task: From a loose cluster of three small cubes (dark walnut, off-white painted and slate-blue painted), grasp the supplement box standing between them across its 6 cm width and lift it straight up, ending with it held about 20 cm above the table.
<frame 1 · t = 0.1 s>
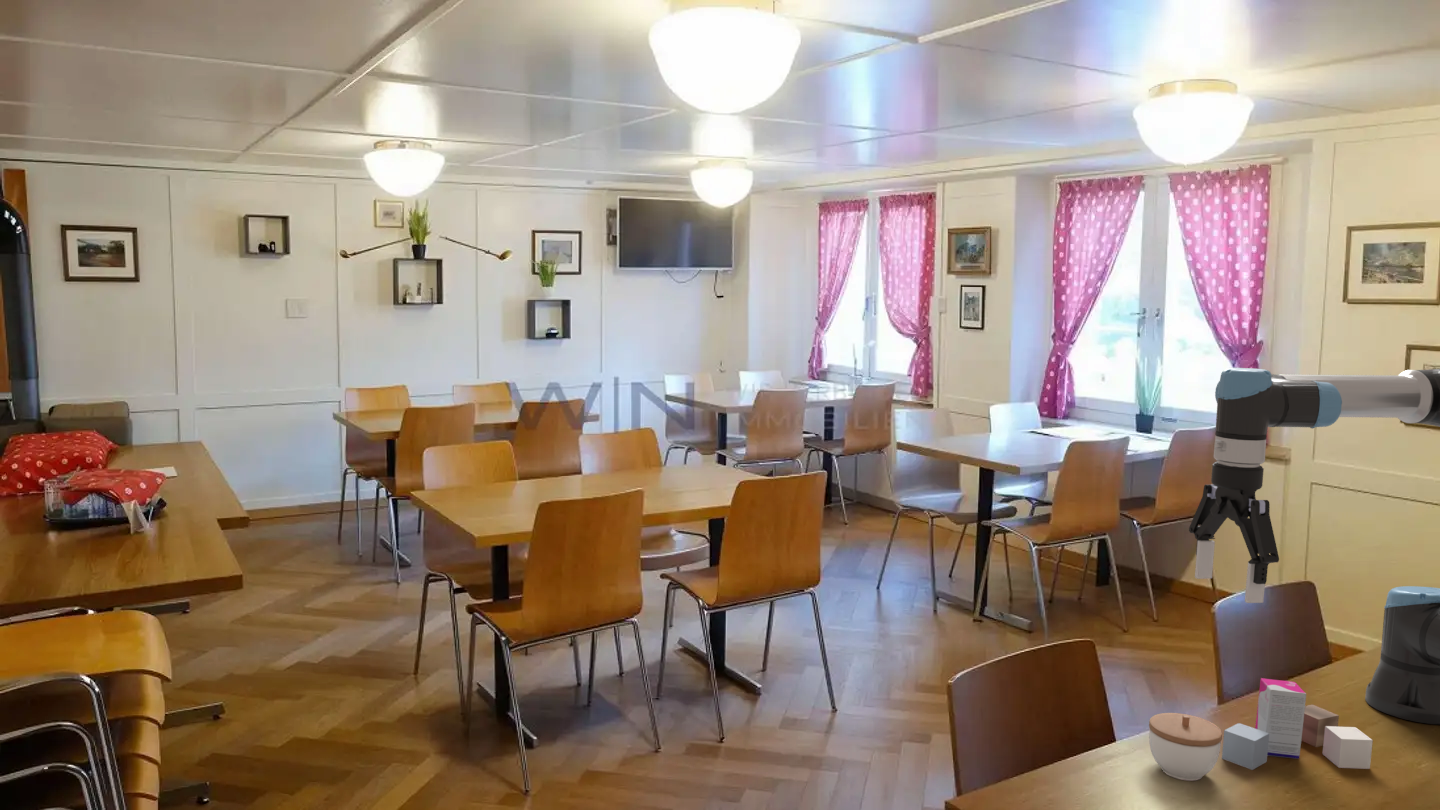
hand: (1227, 589, 175), 28 cm above the table, fingers open, 13 cm apart
supplement box: (1276, 751, 179), on the table
walnut cube: (1312, 739, 184), on the table
lidded jar: (1181, 773, 170), on the table
slate-blue cube: (1244, 760, 175), on the table
off-white cube: (1345, 761, 175), on the table
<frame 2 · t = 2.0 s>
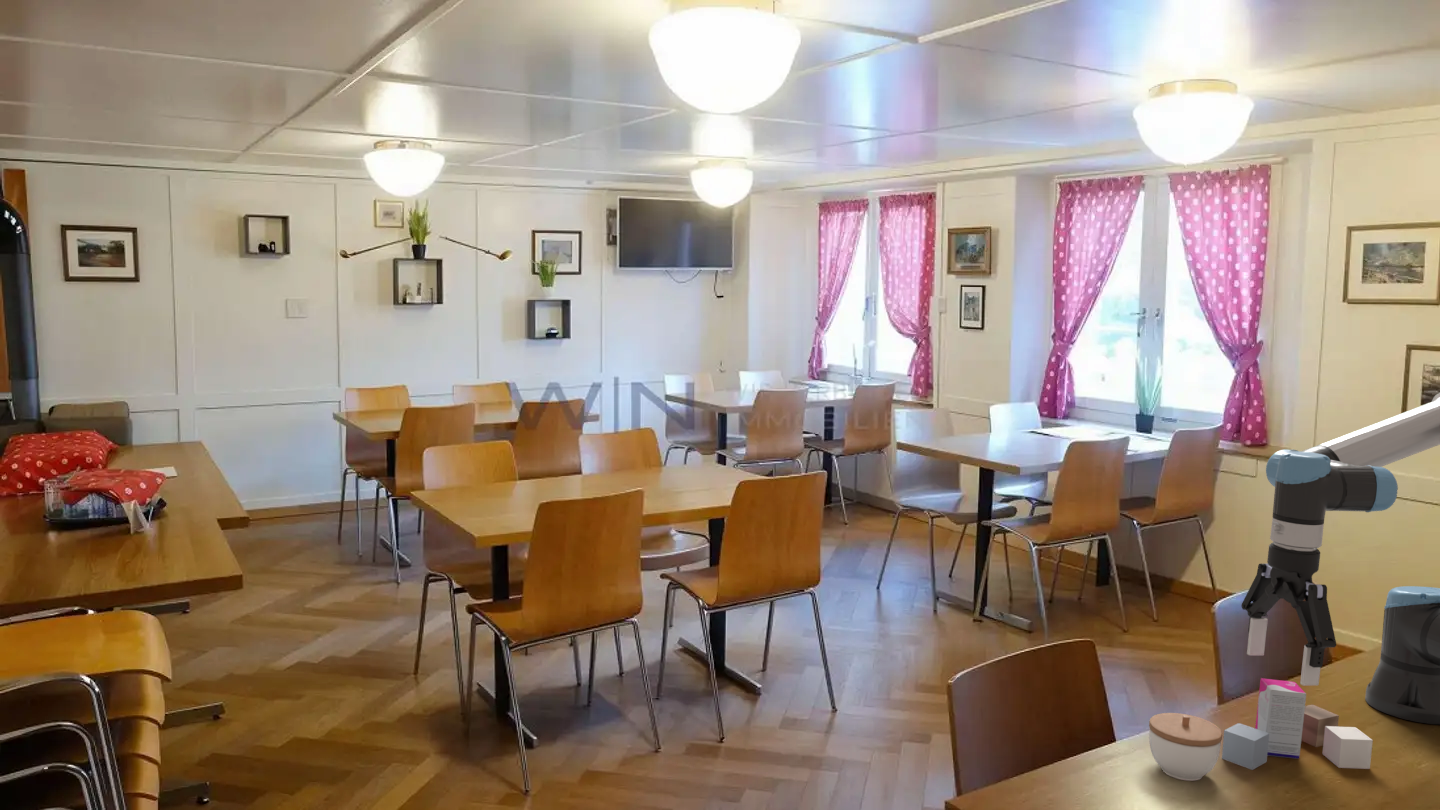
hand: (1281, 669, 177), 14 cm above the table, fingers open, 13 cm apart
nothing on the table moved.
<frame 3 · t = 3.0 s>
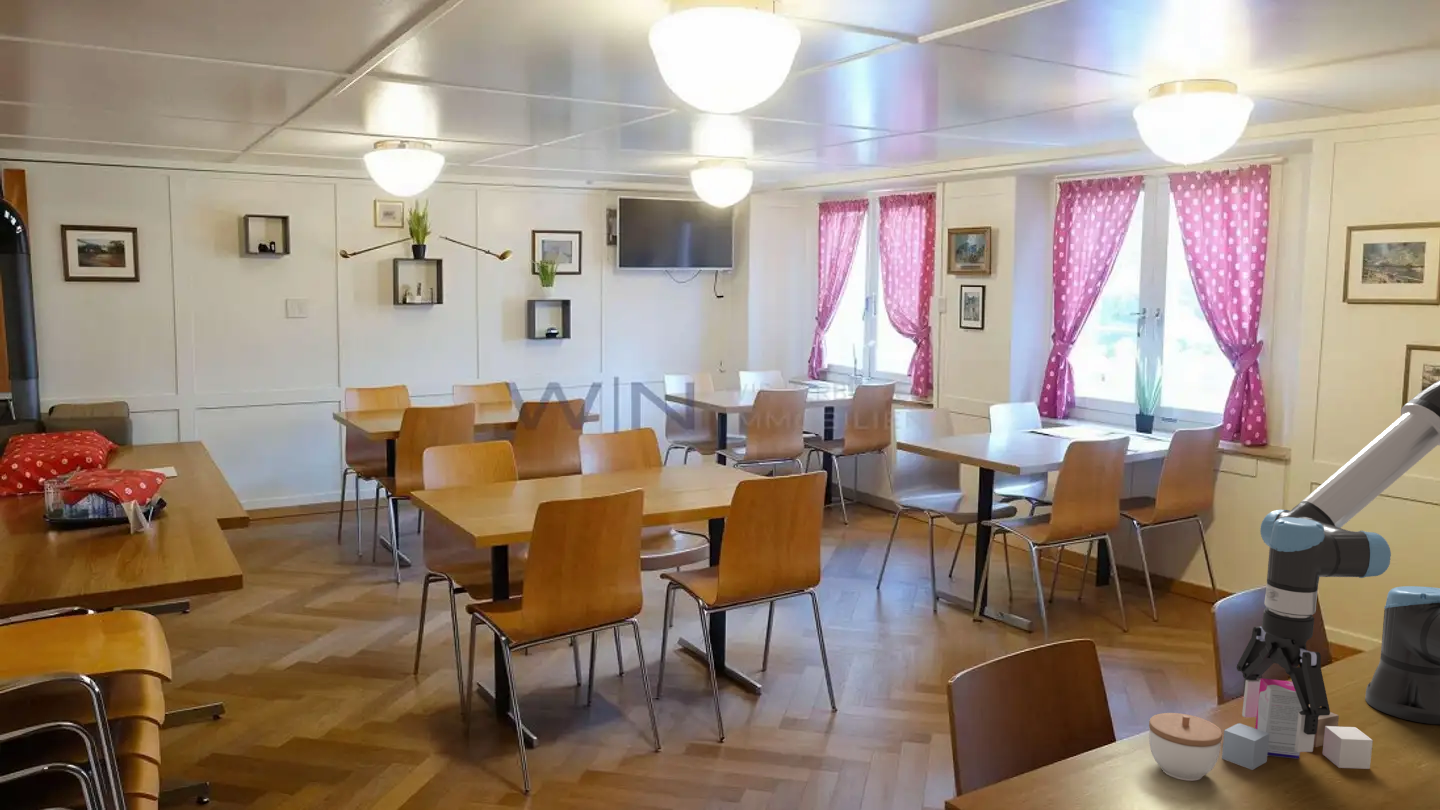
hand: (1276, 733, 178), 3 cm above the table, fingers open, 13 cm apart
nothing on the table moved.
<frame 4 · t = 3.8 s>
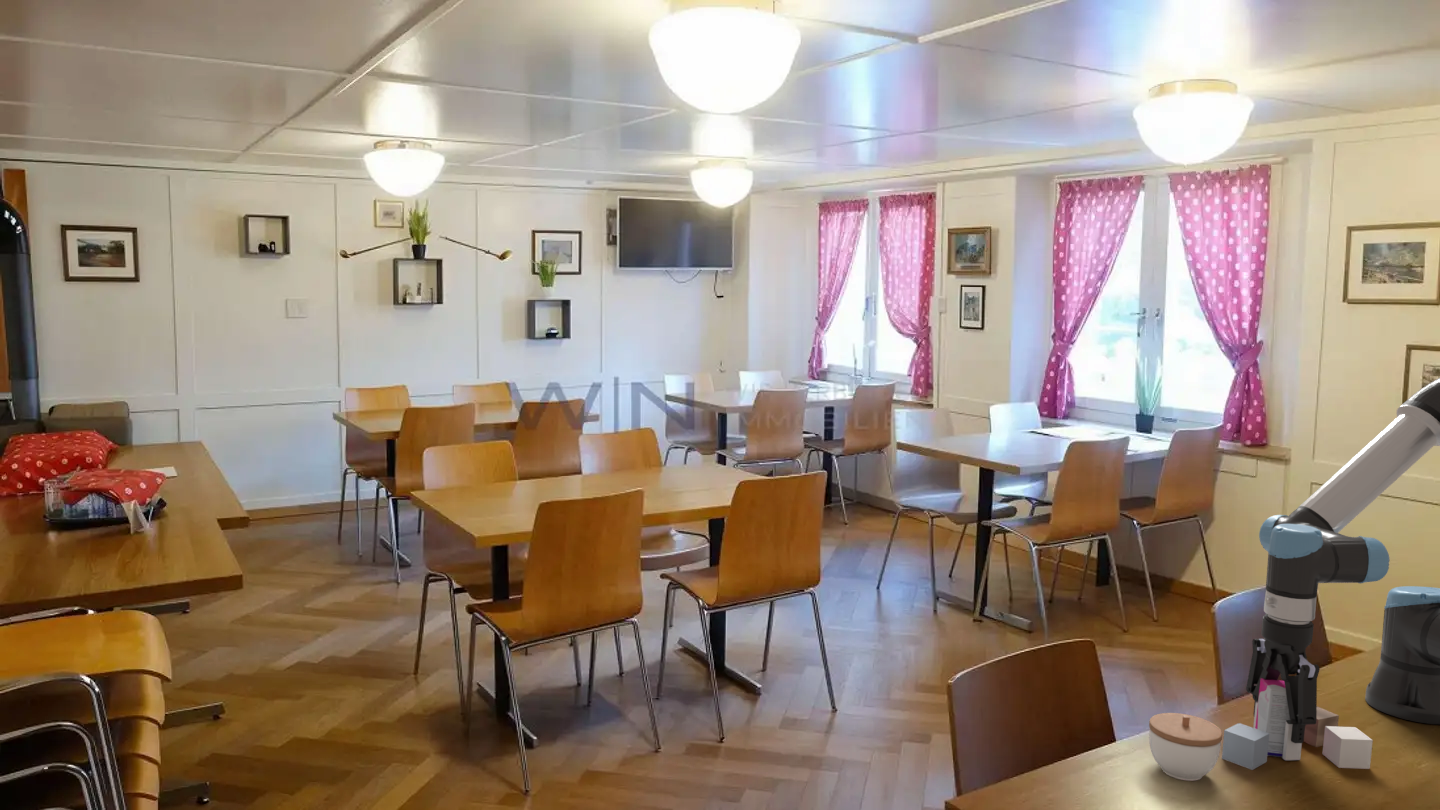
hand: (1275, 748, 179), 0 cm above the table, fingers closed on supplement box, 7 cm apart
supplement box: (1276, 751, 179), on the table, touching gripper
everything else where it was.
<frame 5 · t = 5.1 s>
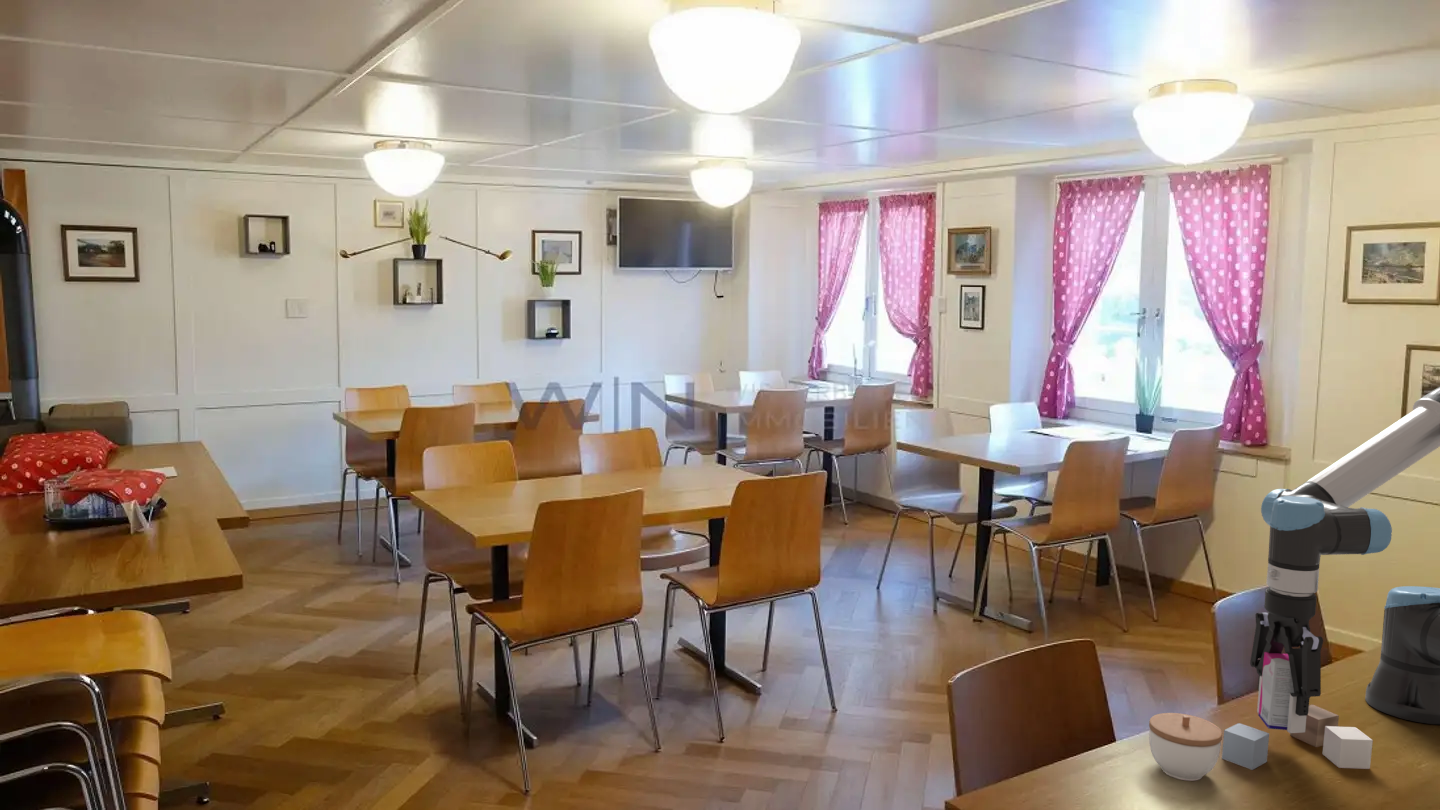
hand: (1280, 721, 178), 5 cm above the table, fingers closed on supplement box, 7 cm apart
supplement box: (1281, 724, 178), point 4 cm above the table, touching gripper
everything else where it was.
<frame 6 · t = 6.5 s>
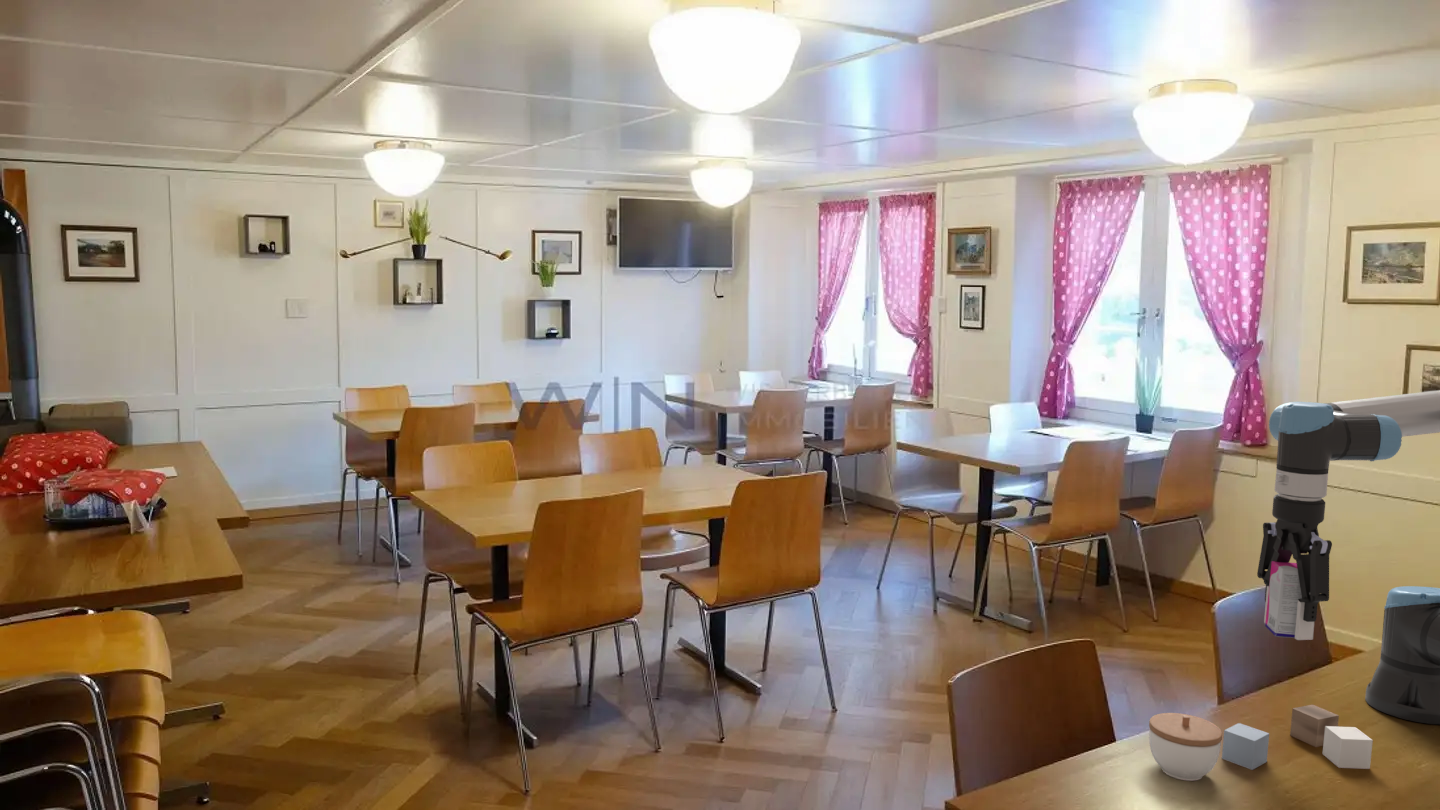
hand: (1287, 630, 176), 21 cm above the table, fingers closed on supplement box, 7 cm apart
supplement box: (1288, 633, 176), point 20 cm above the table, touching gripper
everything else where it was.
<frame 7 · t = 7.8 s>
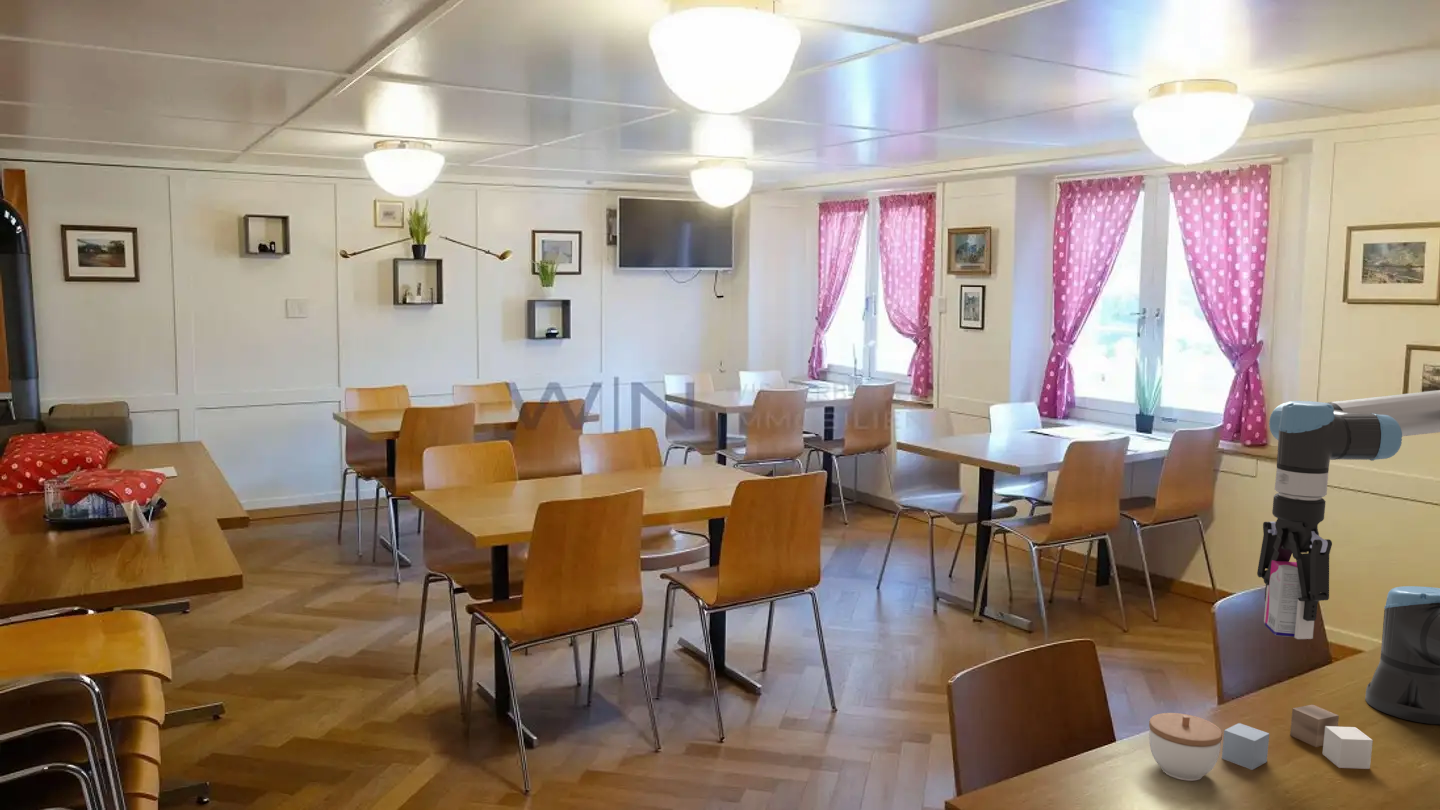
hand: (1287, 630, 176), 21 cm above the table, fingers closed on supplement box, 7 cm apart
supplement box: (1288, 632, 176), point 21 cm above the table, touching gripper
everything else where it was.
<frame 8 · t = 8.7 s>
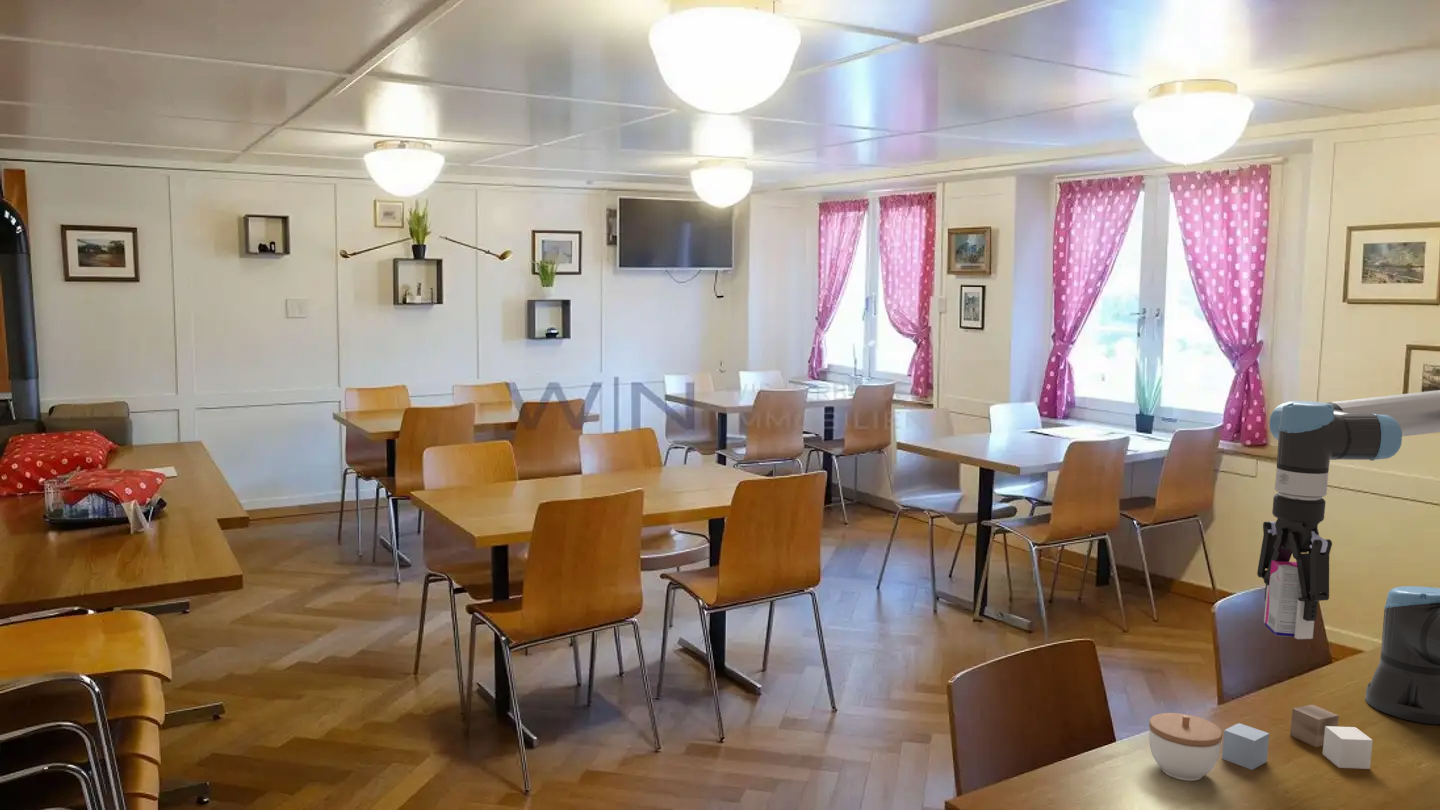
hand: (1287, 630, 176), 21 cm above the table, fingers closed on supplement box, 7 cm apart
supplement box: (1288, 632, 176), point 21 cm above the table, touching gripper
everything else where it was.
at the end: the gripper is holding supplement box; supplement box point 20.5 cm above the table; off-white cube moved 0.1 cm from its start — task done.
